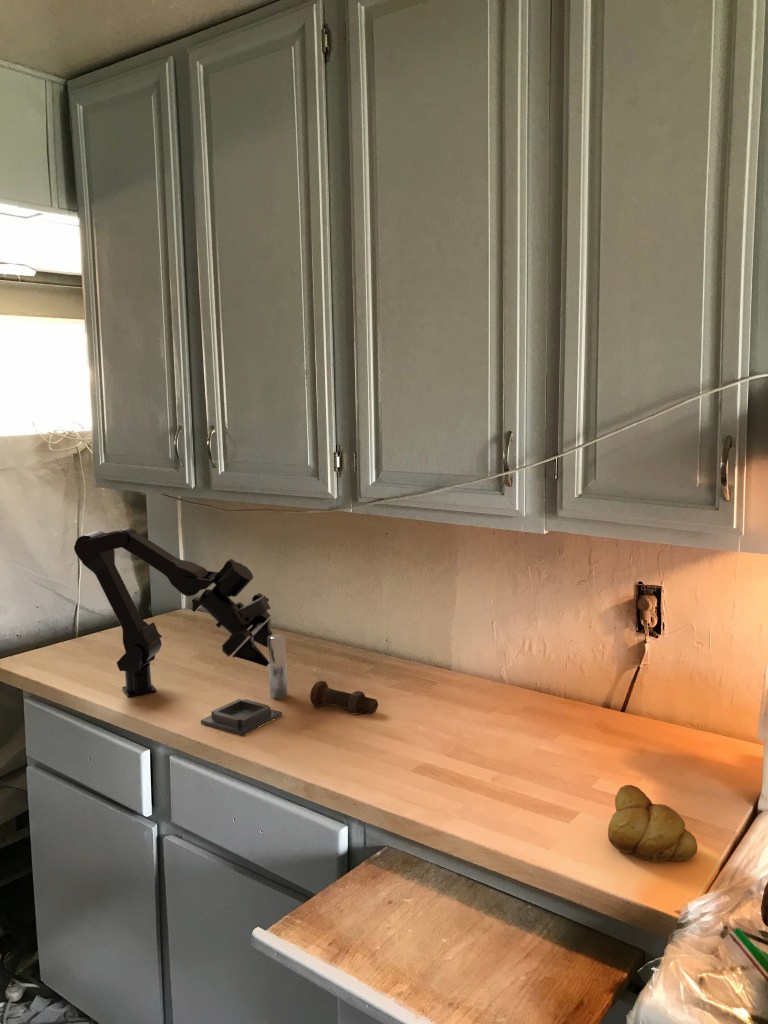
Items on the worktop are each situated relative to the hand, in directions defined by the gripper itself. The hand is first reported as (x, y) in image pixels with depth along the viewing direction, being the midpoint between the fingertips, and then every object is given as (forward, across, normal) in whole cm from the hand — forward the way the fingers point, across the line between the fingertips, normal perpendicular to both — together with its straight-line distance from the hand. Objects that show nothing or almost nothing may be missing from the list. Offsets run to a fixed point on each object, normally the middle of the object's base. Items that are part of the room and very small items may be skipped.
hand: (274, 657), depth 188 cm
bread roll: (+60, -55, -45) cm, 93 cm away
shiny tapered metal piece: (+7, 0, +6) cm, 9 cm away
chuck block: (+4, -14, +9) cm, 17 cm away
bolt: (+19, -6, -5) cm, 21 cm away
